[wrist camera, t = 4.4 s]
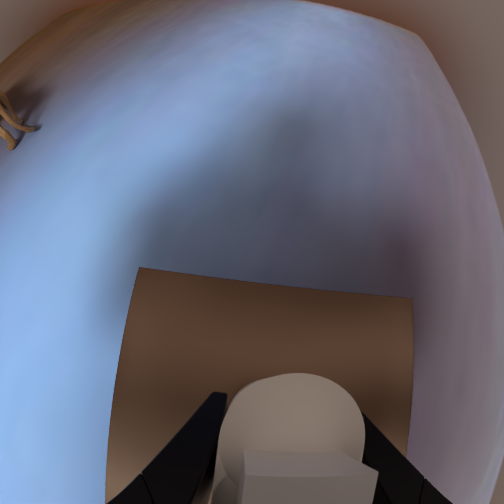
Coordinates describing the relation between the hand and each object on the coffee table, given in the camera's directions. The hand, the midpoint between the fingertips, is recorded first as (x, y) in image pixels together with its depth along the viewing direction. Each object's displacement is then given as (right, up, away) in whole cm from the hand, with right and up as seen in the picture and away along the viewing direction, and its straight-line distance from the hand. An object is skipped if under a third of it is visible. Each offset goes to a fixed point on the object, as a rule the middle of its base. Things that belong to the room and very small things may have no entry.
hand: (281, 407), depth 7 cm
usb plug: (0, -2, +2) cm, 3 cm away
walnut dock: (0, -4, +6) cm, 7 cm away
